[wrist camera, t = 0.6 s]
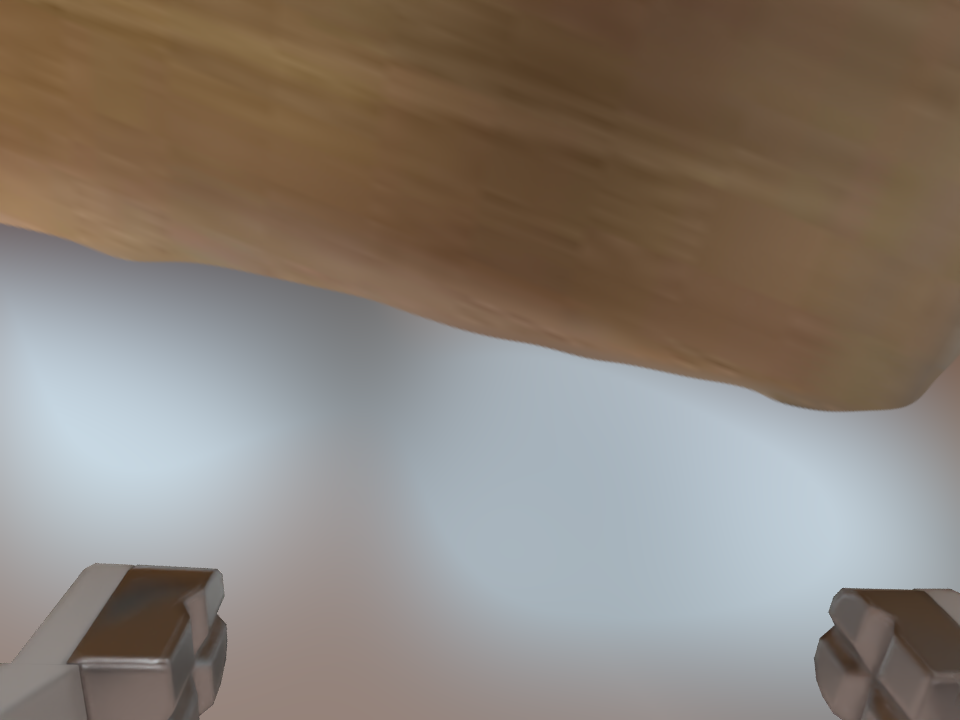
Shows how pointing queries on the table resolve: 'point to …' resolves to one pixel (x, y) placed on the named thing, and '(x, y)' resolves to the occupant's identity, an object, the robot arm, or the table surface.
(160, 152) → the table surface
